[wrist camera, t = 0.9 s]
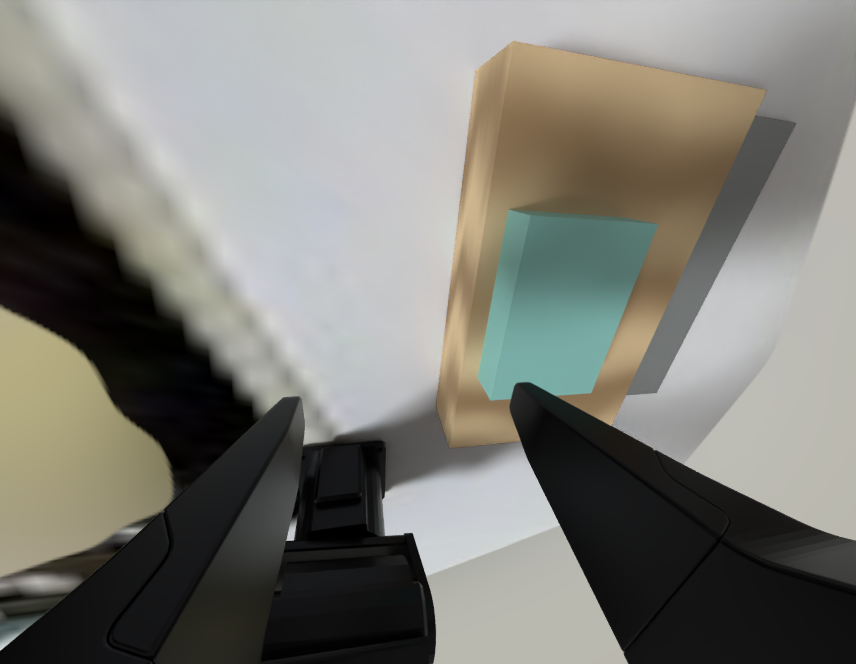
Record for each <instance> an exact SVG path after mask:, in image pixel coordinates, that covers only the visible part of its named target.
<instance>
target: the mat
mask: <svg viewBox="0 0 856 664" xmlns="http://www.w3.org/2000/svg"><path fill="white" fill-rule="evenodd" d="M795 125H796V123H794V122H788V121H782V120H776V119H770V118H764V117H758V116H755V117H754V120H753V122H752V124H751V126H750V128H749V130H748V132H747V135H746V137H745V139H744V141H743V143H742V145H741V148H740V150H739V152H738V154H737V156H736V158H735V161H734V163H733V165H732V167H731V169H730V171H729V173H728V176H727V178H726V180H725V182H724V184H723V186H722V189H721V191H720V193H719V195H718V197H717V199H716V202H715V204H714V206H713V208H712V210H711V212H710V214H709V217H708V219H707V221H706V223H705V225H704V227H703V230H702V232H701V234H700V236H699V238H698V240H697V243H696V245H695V247H694V249H693V251H692V253H691V255H690V258H689V260H688V262H687V264H686V266H685V268H684V271H683V273H682V275H681V277H680V279H679V281H678V284H677V286H676V288H675V290H674V292H673V294H672V296H671V299H670V301H669V303H668V305H667V307H666V309H665V312H664V314H663V316H662V318H661V320H660V322H659V325H658V327H657V329H656V331H655V333H654V335H653V337H652V340H651V342H650V344H649V346H648V348H647V350H646V353H645V355H644V357H643V359H642V361H641V363H640V366H639V368H638V370H637V372H636V374H635V376H634V378H633V381H632V383H631V385H630V387H629V389H628V391H627V394H626V395H636V394H649V393H657V391H658V389H659V387H660V385H661V383H662V381H663V380H664V378H665V376H666V374H667V372H668V370H669V368H670V366H671V364H672V362H673V360H674V358H675V356H676V354H677V353H678V351H679V349H680V347H681V345H682V343H683V341H684V339H685V337H686V335H687V333H688V331H689V329H690V327H691V326H692V324H693V322H694V320H695V318H696V316H697V314H698V312H699V310H700V308H701V306H702V304H703V302H704V300H705V298H706V297H707V295H708V293H709V291H710V289H711V287H712V285H713V283H714V281H715V279H716V277H717V275H718V273H719V271H720V270H721V268H722V266H723V264H724V262H725V260H726V258H727V256H728V254H729V252H730V250H731V248H732V246H733V244H734V242H735V241H736V239H737V237H738V235H739V233H740V231H741V229H742V227H743V225H744V223H745V221H746V219H747V217H748V215H749V214H750V212H751V210H752V208H753V206H754V204H755V202H756V200H757V198H758V196H759V194H760V192H761V190H762V188H763V186H764V185H765V183H766V181H767V179H768V177H769V175H770V173H771V171H772V169H773V167H774V165H775V163H776V161H777V159H778V158H779V156H780V154H781V152H782V150H783V148H784V146H785V144H786V142H787V140H788V138H789V136H790V134H791V132H792V130H793V129H794V127H795Z"/></svg>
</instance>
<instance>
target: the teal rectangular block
mask: <svg viewBox="0 0 856 664" xmlns="http://www.w3.org/2000/svg"><path fill="white" fill-rule="evenodd" d="M657 227H658V224H656V223H651V222H646V221H641V220H635V219H630V218H625V217H612V216H598V215H583V214H568V213H554V212H539V211H525V210H510V209H508V215H507V220H506V226H505V231H504V236H503V242H502V247H501V253H500V258H499V263H498V269H497V274H496V280H495V285H494V290H493V296H492V301H491V307H490V312H489V317H488V323H487V328H486V334H485V339H484V344H483V350H482V355H481V361H480V366H479V371H478V377H477V378H478V380H479V382H480V383H481V385H482V387H483V389H484V390H485V392H486V394H487V396H488V397H489V399H490V401H491V400H505V399H511V396H512V392H513V388H514V385H515V384H516V383H518V382H531V383H533V384H534V385H536V386H538V387H540V388H542V389H544V390H546V391H547V392H549V393H551V394H553V395H555V396H559V395H573V394H587V393H591V392H592V390H593V387H594V385H595V382H596V380H597V377H598V375H599V372H600V370H601V367H602V365H603V362H604V360H605V357H606V355H607V352H608V350H609V347H610V345H611V342H612V340H613V337H614V335H615V332H616V330H617V327H618V325H619V322H620V320H621V317H622V315H623V312H624V310H625V307H626V305H627V302H628V300H629V297H630V295H631V292H632V290H633V287H634V285H635V282H636V280H637V277H638V275H639V272H640V270H641V267H642V265H643V262H644V260H645V257H646V254H647V252H648V249H649V247H650V244H651V242H652V239H653V237H654V234H655V232H656V229H657Z"/></svg>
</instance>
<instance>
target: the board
mask: <svg viewBox="0 0 856 664" xmlns="http://www.w3.org/2000/svg"><path fill="white" fill-rule="evenodd" d="M766 91H767V90H763V89H758V88H753V87H748V86H743V85H737V84H732V83H727V82H722V81H717V80H712V79H706V78H701V77H696V76H691V75H686V74H681V73H676V72H670V71H665V70H660V69H655V68H650V67H645V66H640V65H634V64H629V63H624V62H619V61H614V60H609V59H604V58H598V57H593V56H588V55H583V54H578V53H573V52H567V51H562V50H557V49H552V48H547V47H542V46H537V45H531V44H526V43H521V42H516V41H512V42H511V43H510V44H509V45H507V46H506V47H505V48H504V49H502V50H501V51H500V52H499V53H497V54H496V55H495V56H494V57H492V58H491V59H490V60H489V61H487V62H486V63H485V64H484V65H482V66H481V67H480V68H479V69H477V70H476V71H475V80H474V88H473V97H472V105H471V114H470V122H469V131H468V139H467V148H466V156H465V165H464V173H463V182H462V190H461V199H460V207H459V216H458V224H457V233H456V241H455V249H454V258H453V266H452V275H451V283H450V292H449V300H448V309H447V317H446V326H445V334H444V343H443V351H442V360H441V368H440V377H439V385H438V394H437V402H436V409H437V412H438V415H439V418H440V421H441V424H442V427H443V430H444V433H445V436H446V439H447V442H448V445H449V448H450V449H451V448H461V447H470V446H480V445H489V444H499V443H508V442H518V441H520V438H519V435H518V432H517V430H516V427H515V424H514V422H513V419H512V416H511V414H510V409H509V405H510V400H511V399H505V400H491V401H490V399H489V397H488V396H487V394H486V392H485V390H484V389H483V387H482V385H481V383H480V382H479V380H478V378H477V377H478V371H479V366H480V361H481V355H482V350H483V344H484V339H485V334H486V328H487V323H488V317H489V312H490V307H491V301H492V296H493V290H494V285H495V280H496V274H497V269H498V263H499V258H500V253H501V247H502V242H503V236H504V231H505V226H506V220H507V215H508V209H510V210H525V211H539V212H554V213H568V214H583V215H598V216H612V217H625V218H630V219H635V220H641V221H646V222H651V223H656V224H658V227H657V229H656V232H655V234H654V237H653V239H652V242H651V244H650V247H649V249H648V252H647V254H646V257H645V260H644V262H643V265H642V267H641V270H640V272H639V275H638V277H637V280H636V282H635V285H634V287H633V290H632V292H631V295H630V297H629V300H628V302H627V305H626V307H625V310H624V312H623V315H622V317H621V320H620V322H619V325H618V327H617V330H616V332H615V335H614V337H613V340H612V342H611V345H610V347H609V350H608V352H607V355H606V357H605V360H604V362H603V365H602V367H601V370H600V372H599V375H598V377H597V380H596V382H595V385H594V387H593V390H592V392H591V393H587V394H573V395H559V396H557V397H559V398H560V399H562V400H564V401H566V402H568V403H570V404H571V405H573V406H575V407H577V408H579V409H581V410H583V411H584V412H586V413H588V414H590V415H592V416H594V417H596V418H597V419H599V420H601V421H603V422H605V423H607V424H609V425H610V426H612V424H613V422H614V419H615V417H616V415H617V413H618V411H619V409H620V407H621V404H622V402H623V400H624V398H625V396H626V394H627V391H628V389H629V387H630V385H631V383H632V381H633V378H634V376H635V374H636V372H637V370H638V368H639V366H640V363H641V361H642V359H643V357H644V355H645V353H646V350H647V348H648V346H649V344H650V342H651V340H652V337H653V335H654V333H655V331H656V329H657V327H658V325H659V322H660V320H661V318H662V316H663V314H664V312H665V309H666V307H667V305H668V303H669V301H670V299H671V296H672V294H673V292H674V290H675V288H676V286H677V284H678V281H679V279H680V277H681V275H682V273H683V271H684V268H685V266H686V264H687V262H688V260H689V258H690V255H691V253H692V251H693V249H694V247H695V245H696V243H697V240H698V238H699V236H700V234H701V232H702V230H703V227H704V225H705V223H706V221H707V219H708V217H709V214H710V212H711V210H712V208H713V206H714V204H715V202H716V199H717V197H718V195H719V193H720V191H721V189H722V186H723V184H724V182H725V180H726V178H727V176H728V173H729V171H730V169H731V167H732V165H733V163H734V161H735V158H736V156H737V154H738V152H739V150H740V148H741V145H742V143H743V141H744V139H745V137H746V135H747V132H748V130H749V128H750V126H751V124H752V122H753V120H754V117H755V115H756V113H757V111H758V109H759V107H760V104H761V102H762V100H763V98H764V96H765V94H766Z"/></svg>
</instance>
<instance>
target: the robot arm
mask: <svg viewBox="0 0 856 664" xmlns="http://www.w3.org/2000/svg"><path fill="white" fill-rule="evenodd" d="M509 409H510V414H511V416H512V419H513V422H514V424H515V427H516V430H517V432H518V435H519V438H520V441H521V443H522V446H523V449H524V451H525V454H526V456H527V459H528V461H529V463H530V465H531V467H532V469H533V471H534V473H535V475H536V477H537V479H538V481H539V483H540V486H541V488H542V490H543V492H544V494H545V496H546V498H547V500H548V502H549V504H550V506H551V508H552V510H553V512H554V514H555V516H556V518H557V520H558V522H559V524H560V526H561V528H562V530H563V532H564V534H565V536H566V538H567V540H568V542H569V544H570V546H571V548H572V550H573V552H574V554H575V556H576V558H577V560H578V562H579V564H580V566H581V568H582V570H583V572H584V575H585V576H586V579H587V580H588V583H589V584H590V587H591V589H592V591H593V593H594V595H595V596H596V599H597V601H598V603H599V605H600V607H601V609H602V611H603V613H604V615H605V617H606V619H607V621H608V623H609V625H610V627H611V629H612V631H613V633H614V635H615V637H616V639H617V641H618V643H619V645H620V647H621V649H622V651H623V652H624V656H625V658H626V660H627V662H628V664H856V541H855V540H851V539H847V538H843V537H839V536H835V535H832V534H829V533H826V532H824V531H821V530H818V529H815V528H813V527H811V526H808V525H806V524H804V523H802V522H800V521H797V520H795V519H793V518H791V517H789V516H787V515H785V514H783V513H781V512H779V511H777V510H775V509H772V508H770V507H768V506H766V505H764V504H762V503H760V502H758V501H756V500H754V499H752V498H750V497H748V496H745V495H743V494H741V493H739V492H737V491H735V490H733V489H731V488H729V487H727V486H725V485H723V484H721V483H719V482H717V481H715V480H713V479H710V478H708V477H706V476H704V475H702V474H700V473H698V472H696V471H694V470H692V469H691V468H689V467H687V466H685V465H683V464H681V463H679V462H677V461H675V460H673V459H672V458H670V457H668V456H666V455H664V454H662V453H661V452H659V451H657V450H653V448H651V447H649V446H647V445H646V444H644V443H642V442H640V441H638V440H636V439H634V438H633V437H631V436H629V435H627V434H625V433H623V432H622V431H620V430H618V429H616V428H614V427H612V426H610V425H609V424H607V423H605V422H603V421H601V420H599V419H597V418H596V417H594V416H592V415H590V414H588V413H586V412H584V411H583V410H581V409H579V408H577V407H575V406H573V405H571V404H570V403H568V402H566V401H564V400H562V399H560V398H559V397H557V396H555V395H553V394H551V393H549V392H547V391H546V390H544V389H542V388H540V387H538V386H536V385H534V384H533V383H531V382H518V383H516V384H515V385H514V388H513V392H512V396H511V400H510V405H509ZM304 431H305V420H304V412H303V405H302V399H301V398H300V397H299V396H294V397H284V398H282V399H281V400H280V401H279V402H278V403H277V404H276V405H274V406H273V407H272V408H271V409H270V410H269V411H268V412H267V413H266V414H265V415H264V416H263V417H262V418H261V419H260V420H258V421H257V422H256V423H255V424H254V425H253V426H252V427H251V428H250V429H249V430H248V431H247V432H246V433H245V434H244V435H242V436H241V437H240V438H239V439H238V440H237V441H236V442H235V443H234V444H233V445H232V446H231V447H230V448H229V449H228V450H226V451H225V452H224V453H223V454H222V455H221V456H220V457H219V458H218V459H217V460H216V461H215V462H214V463H213V464H212V465H211V466H209V467H208V468H207V469H206V470H205V471H204V472H203V473H202V474H201V475H200V476H199V477H198V478H197V479H196V480H195V481H193V482H192V483H191V484H190V485H189V486H188V487H187V488H186V489H185V490H184V491H183V492H182V493H181V494H180V495H179V496H177V497H176V498H175V499H174V500H173V501H172V502H171V503H170V504H169V505H168V506H167V507H166V508H165V509H164V513H159V514H158V515H157V516H156V517H155V518H154V519H153V520H152V521H151V522H150V523H148V524H147V525H146V526H145V527H144V528H143V529H142V530H141V531H140V532H139V533H138V534H137V535H136V536H134V537H133V538H132V539H131V540H130V541H129V542H128V543H127V544H126V545H124V546H123V547H122V548H121V549H120V550H119V551H118V552H117V553H116V554H115V555H113V556H112V557H111V558H110V559H109V560H108V561H107V562H106V563H104V564H103V565H102V566H101V567H100V568H99V569H97V570H96V571H95V572H94V573H93V574H92V575H90V576H89V577H88V578H87V579H86V580H84V581H83V582H82V583H81V584H80V585H79V586H77V587H76V588H75V589H74V590H73V591H72V592H70V593H69V594H68V595H67V596H66V597H65V598H63V599H62V600H61V601H60V602H58V603H57V604H56V605H55V606H54V607H52V608H51V609H50V610H49V611H48V612H46V613H45V614H44V615H43V616H42V617H40V618H39V619H38V620H37V621H36V622H34V623H33V624H32V625H31V626H30V627H28V628H27V629H26V630H25V631H24V632H22V633H21V634H20V635H19V636H17V637H16V638H15V639H14V640H13V641H11V642H10V643H9V644H8V645H7V646H5V647H4V648H3V649H2V650H1V651H0V664H433V662H434V657H435V646H436V624H435V613H434V606H433V600H432V595H431V591H430V588H429V585H428V582H427V578H426V575H425V572H424V568H423V565H422V562H421V559H420V555H419V552H418V549H417V546H416V542H415V539H414V536H413V533H404V535H395V536H385V531H384V518H383V505H382V499H383V498H384V496H385V461H386V446H385V443H384V442H382V441H374V442H363V443H353V444H342V445H332V446H321V447H310V448H303V440H304ZM379 447H380V448H379ZM302 455H304V456H302ZM298 485H299V490H300V496H301V501H300V507H299V513H298V519H297V525H296V531H295V537H294V541H286V539H287V535H288V530H289V526H290V522H291V517H292V513H293V509H294V504H295V500H296V496H297V491H298Z"/></svg>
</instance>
